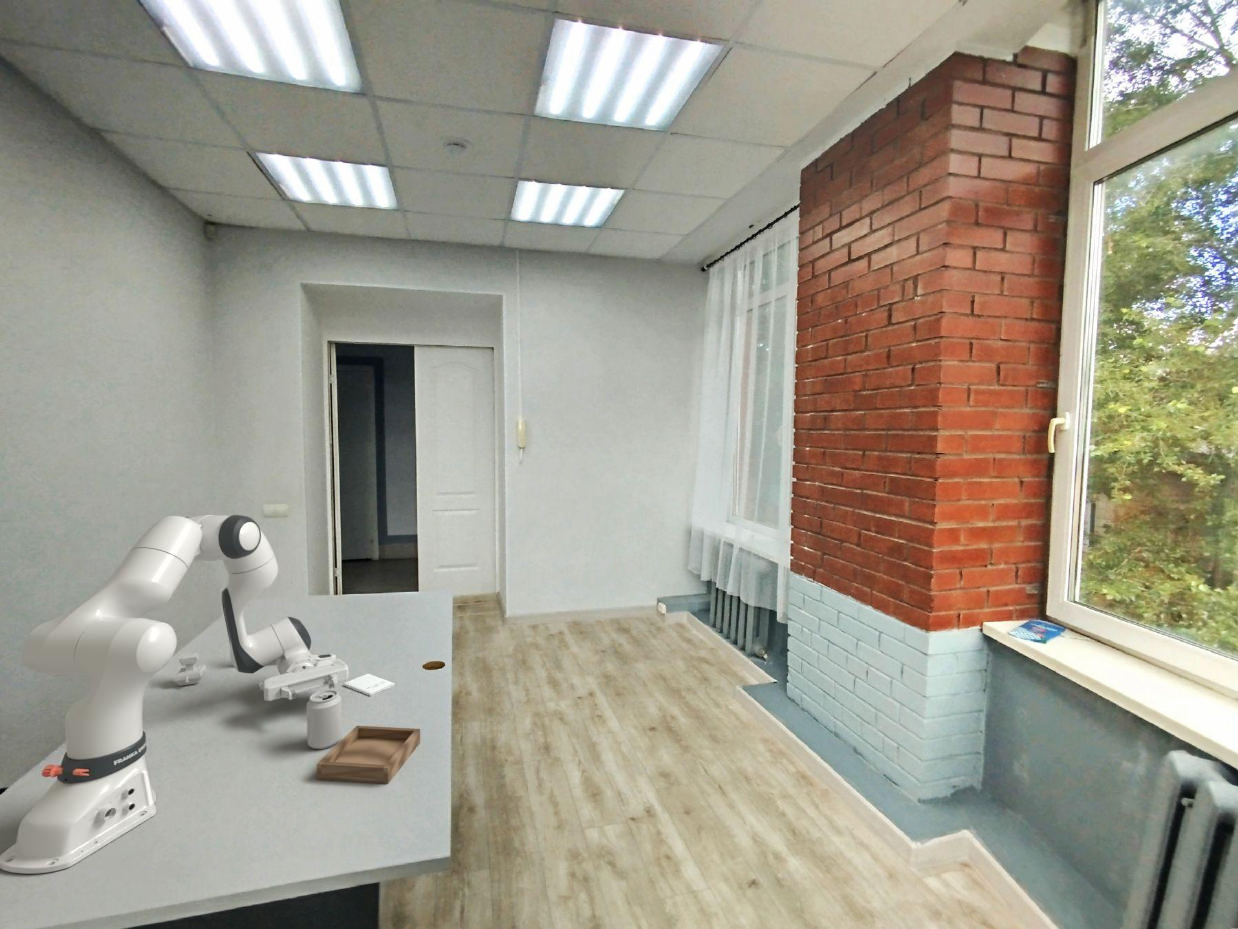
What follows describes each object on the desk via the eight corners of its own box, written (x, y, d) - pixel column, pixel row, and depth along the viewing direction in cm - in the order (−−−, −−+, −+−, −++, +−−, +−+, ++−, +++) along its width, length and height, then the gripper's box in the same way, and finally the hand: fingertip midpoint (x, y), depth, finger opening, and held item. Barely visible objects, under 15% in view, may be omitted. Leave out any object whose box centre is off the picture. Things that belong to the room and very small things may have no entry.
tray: (388, 783, 121) (387, 768, 121) (317, 779, 122) (316, 764, 122) (420, 742, 137) (420, 729, 137) (357, 739, 138) (356, 725, 138)
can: (327, 753, 132) (326, 703, 132) (300, 749, 134) (298, 700, 133) (349, 736, 140) (348, 689, 139) (322, 732, 141) (321, 686, 140)
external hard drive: (368, 678, 174) (395, 687, 167) (344, 688, 167) (370, 698, 160) (368, 673, 174) (395, 682, 167) (343, 683, 167) (370, 693, 160)
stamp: (200, 687, 165) (199, 659, 165) (172, 691, 163) (171, 662, 162) (208, 674, 174) (207, 648, 173) (181, 678, 171) (180, 651, 170)
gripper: (257, 672, 149) (266, 691, 139) (340, 652, 162) (354, 668, 152) (257, 695, 150) (267, 715, 139) (341, 673, 163) (355, 690, 152)
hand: (313, 690), depth 146 cm, fingers open, 8 cm apart
